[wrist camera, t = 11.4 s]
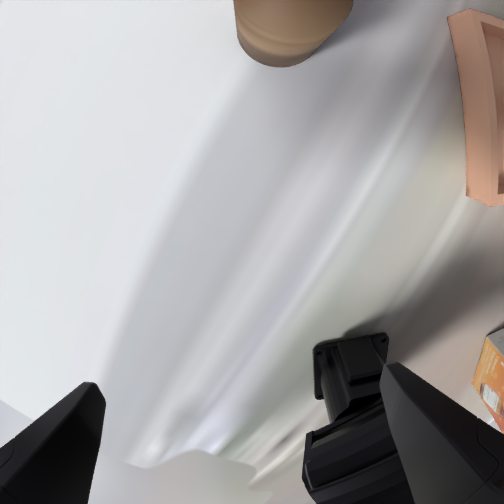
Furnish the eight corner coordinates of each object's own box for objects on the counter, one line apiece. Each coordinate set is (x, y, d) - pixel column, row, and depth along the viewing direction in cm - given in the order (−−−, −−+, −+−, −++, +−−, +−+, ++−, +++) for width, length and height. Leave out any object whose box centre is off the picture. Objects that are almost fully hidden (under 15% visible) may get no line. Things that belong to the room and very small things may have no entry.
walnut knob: (324, 64, 16) (364, 36, 10) (243, 72, 16) (241, 42, 10) (310, -4, 14) (339, -54, 8) (231, 3, 15) (224, -51, 8)
